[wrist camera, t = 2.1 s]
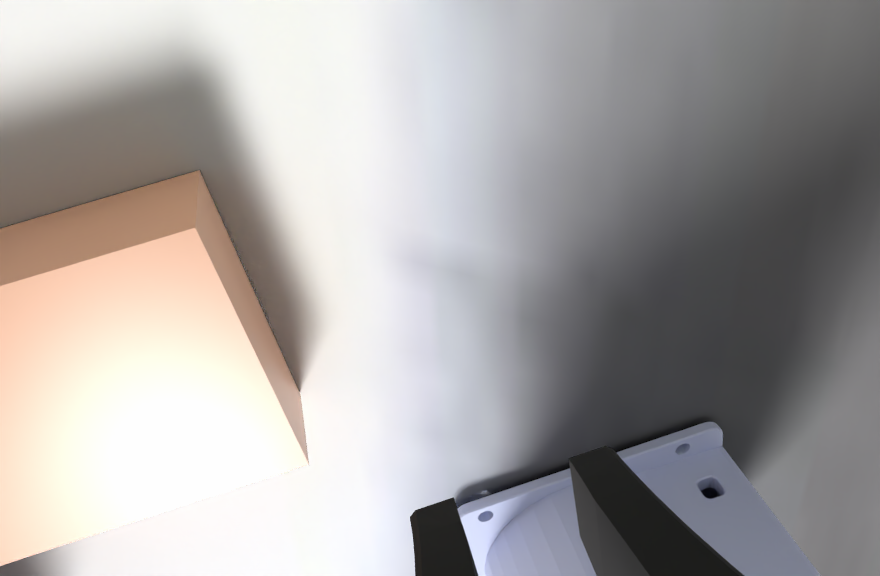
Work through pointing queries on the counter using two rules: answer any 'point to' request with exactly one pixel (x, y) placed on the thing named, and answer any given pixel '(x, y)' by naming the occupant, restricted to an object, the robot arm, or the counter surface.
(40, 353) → the peach rectangular block
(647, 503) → the robot arm
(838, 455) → the counter surface
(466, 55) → the counter surface
